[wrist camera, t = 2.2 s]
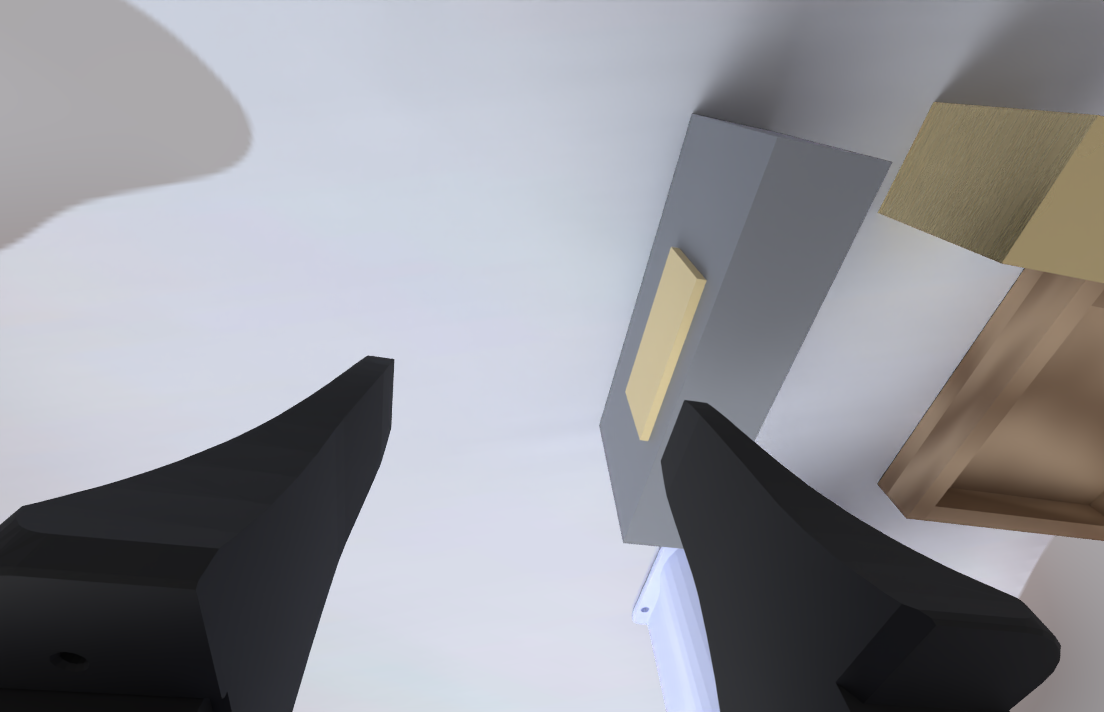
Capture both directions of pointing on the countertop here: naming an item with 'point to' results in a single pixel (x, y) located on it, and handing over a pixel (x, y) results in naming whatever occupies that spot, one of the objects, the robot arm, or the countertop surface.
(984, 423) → the tray
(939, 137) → the brass block
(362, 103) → the countertop surface
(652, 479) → the wall unit
